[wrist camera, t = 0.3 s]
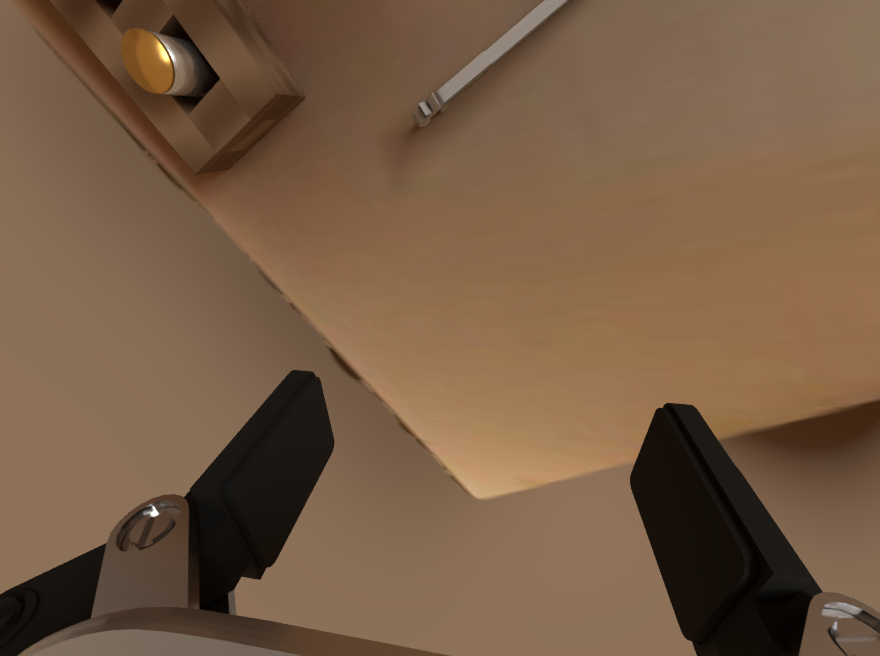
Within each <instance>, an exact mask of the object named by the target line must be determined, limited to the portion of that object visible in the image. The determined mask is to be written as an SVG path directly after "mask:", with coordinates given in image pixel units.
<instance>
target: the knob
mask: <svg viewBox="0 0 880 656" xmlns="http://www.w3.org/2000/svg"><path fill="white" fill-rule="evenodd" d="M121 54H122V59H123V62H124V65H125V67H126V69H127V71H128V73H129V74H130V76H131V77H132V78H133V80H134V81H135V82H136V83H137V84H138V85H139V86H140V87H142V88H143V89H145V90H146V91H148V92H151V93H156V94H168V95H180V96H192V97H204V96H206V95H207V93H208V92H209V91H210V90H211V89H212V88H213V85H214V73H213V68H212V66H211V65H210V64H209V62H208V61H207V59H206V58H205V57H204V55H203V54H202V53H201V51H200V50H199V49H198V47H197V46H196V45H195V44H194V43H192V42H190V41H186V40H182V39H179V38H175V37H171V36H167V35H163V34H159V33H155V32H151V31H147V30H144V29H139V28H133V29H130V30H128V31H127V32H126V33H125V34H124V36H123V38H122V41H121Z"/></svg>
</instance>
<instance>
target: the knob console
mask: <svg viewBox="0 0 880 656" xmlns="http://www.w3.org/2000/svg"><path fill="white" fill-rule="evenodd" d="M50 2H51V3H52V4H53V5H54V6H55V8H56V9H57V10H58V11H59V12H60V14H61V15H62V16H63V17H64V18H65V19H66V21H67V22H68V23H69V24H70V25H71V27H72V28H73V29H74V30H75V31H76V33H77V34H78V35H79V36H80V37H81V39H82V40H83V41H84V42H85V43H86V45H87V46H88V47H89V48H90V49H91V50H92V52H93V53H94V54H95V55H96V56H97V58H98V59H99V60H100V61H101V62H102V64H103V65H104V66H105V67H106V68H107V70H108V71H109V72H110V73H111V74H112V76H113V77H114V78H115V79H116V80H117V81H118V83H119V84H120V85H121V86H122V87H123V89H124V90H125V91H126V92H127V93H128V95H129V96H130V97H131V98H132V99H133V101H134V102H135V103H136V104H137V105H138V107H139V108H140V109H141V110H142V111H143V112H144V114H145V115H146V116H147V117H148V118H149V120H150V121H151V122H152V123H153V124H154V126H155V127H156V128H157V129H158V130H159V132H160V133H161V134H162V135H163V136H164V138H165V139H166V140H167V141H168V142H169V143H170V145H171V146H172V147H173V148H174V149H175V151H176V152H177V153H178V154H179V155H180V157H181V158H182V159H183V160H184V161H185V163H186V164H187V165H188V166H189V167H190V168H191V170H192V171H193V172H194V173H195V174H200V173H206V172H212V171H218V170H224V169H230V168H231V167H232V166H233V165H234V164H235V163H236V162H237V161H238V160H239V159H240V158H241V157H242V156H244V155H245V154H246V153H247V152H248V151H249V150H250V149H251V148H252V147H253V146H254V145H255V144H256V143H257V142H258V141H259V140H260V139H262V138H263V137H264V136H265V135H266V134H267V133H268V132H269V131H270V130H271V129H272V128H273V127H274V126H275V125H276V124H277V123H279V122H280V121H281V120H282V119H283V118H284V117H285V116H286V115H287V114H288V113H289V112H290V111H291V110H292V109H293V108H294V107H296V106H297V105H298V104H299V103H300V102H301V101H302V100H303V99H304V98H305V96H304V94H303V93H302V91H301V89H300V88H299V86H298V85H297V83H296V82H295V80H294V79H293V77H292V76H291V74H290V73H289V71H288V70H287V68H286V67H285V65H284V64H283V62H282V61H281V59H280V58H279V56H278V55H277V53H276V52H275V50H274V49H273V47H272V46H271V44H270V43H269V41H268V40H267V38H266V37H265V35H264V34H263V32H262V31H261V29H260V28H259V26H258V25H257V23H256V22H255V20H254V19H253V17H252V16H251V14H250V13H249V11H248V10H247V8H246V7H245V5H244V4H243V2H242V1H241V0H50ZM133 28H139V29H144V30H147V31H151V32H155V33H159V34H163V35H167V36H171V37H175V38H179V39H182V40H186V41H190V42H192V43H194V44H195V45H196V46H197V47H198V49H199V50H200V51H201V53H202V54H203V55H204V57H205V58H206V59H207V61H208V62H209V64H210V65H211V66H212V68H213V73H214V85H213V88H212V89H211V90H210V91H209V92H208V93H207V95H206V96H204V97H192V96H180V95H168V94H156V93H151V92H148V91H146V90H145V89H143V88H142V87H140V86H139V85H138V84H137V83H136V82H135V81H134V80H133V78H132V77H131V76H130V74H129V73H128V71H127V69H126V67H125V65H124V62H123V59H122V54H121V41H122V38H123V36H124V34H125V33H126V32H127V31H128V30H130V29H133Z"/></svg>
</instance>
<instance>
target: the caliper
mask: <svg viewBox="0 0 880 656" xmlns="http://www.w3.org/2000/svg"><path fill="white" fill-rule="evenodd" d="M569 1H570V0H544V1H543V2H542V3H541V4H539V5H538V6H537V7H536V8H535V9H534V10H532V11H531V12H530V13H529V14H528V15H527V16H525V17H524V18H523V19H522V20H521V21H520V22H518V23H517V24H516V25H515V26H514V27H513V28H511V29H510V30H509V31H508V32H507V33H506V34H504V35H503V36H502V37H501V38H500V39H499V40H497V41H496V42H495V43H494V44H493V45H492V46H490V47H489V48H488V49H487V50H486V51H485V52H484V51H483V52H482V53H481V54H480V55H479V56H477V57H476V58H475V59H474V60H473V61H472V62H470V63H469V64H468V65H467V66H466V67H465V68H463V69H462V70H461V71H460V72H459V73H458V74H456V75H455V76H454V77H453V78H452V79H451V80H449V81H448V82H447V83H446V84H445V85H443V86H442V87H441V88H440V89H439V90H438V91H437V92H436V94H433V93H431V94H430V95H429V97H428V98H427V100H426V102H425V101H424V102H421V103H419V107H418V108H417V109H416V110H415V111H414V112H413V117H414V119H415V120H416V122H417V123H418V125H419V126H420V127H426V126H428V125H429V124H430V122H431V117H432V116H433V115H434V114H436V113H437V112H438V111H440V112H441V114H442V113H443V112H444V111H445V110H446V109H447V108H448V106H449V105H450V104H451V102H452V101H453V100H454V98H456V97H457V96H458V95H459V94H460V93H462V92H463V91H464V90H466V89H467V88H468V87H470V86H471V85H472V84H473V83H474V82H475V81H477V80H478V79H479V78H480V77H482V76H483V75H484V74H485V73H486V72H487V70H488V69H489V68H491V67H492V66H493V65H494V64H495V63H497V62H498V61H499V60H500V59H501V58H502V57H504V56H505V55H506V54H507V53H508V52H510V51H511V50H512V49H513V48H514V47H516V46H517V45H518V44H519V43H520V42H521V41H523V40H524V39H525V38H526V37H527V36H529V35H530V34H531V33H532V32H533V31H535V30H536V29H537V28H538V27H539V26H541V25H542V24H543V23H544V22H545V21H546V20H548V19H549V18H550V17H551V16H552V15H554V14H555V13H556V12H557V11H558V10H560V9H561V8H562V7H563V6H564V5H566V4H567V3H568V2H569Z"/></svg>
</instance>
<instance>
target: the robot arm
mask: <svg viewBox="0 0 880 656" xmlns="http://www.w3.org/2000/svg"><path fill="white" fill-rule="evenodd" d="M333 448H334V437H333V433H332V429H331V424H330V420H329V416H328V412H327V407H326V403H325V398H324V394H323V390H322V385H321V381H320V379H319V377H316V376H315V374H314V373H313V372H310V371H300V370H293V371H291V372H290V373H289V374H288V375H287V376H286V377H285V379H284V380H283V381H282V382H281V383H280V384H279V386H278V387H277V388H276V389H275V390H274V391H273V393H272V394H271V395H270V396H269V397H268V398H267V400H266V401H265V402H264V403H263V404H262V405H261V406H260V408H259V409H258V410H257V411H256V412H255V414H254V415H253V416H252V417H251V418H250V419H249V420H248V422H247V423H246V424H245V425H244V426H243V427H242V429H241V430H240V431H239V432H238V433H237V435H236V436H235V437H234V438H233V439H232V440H231V442H230V443H229V444H228V445H227V446H226V447H225V449H224V450H223V451H222V452H221V453H220V454H219V455H218V457H217V458H216V459H215V460H214V462H213V463H212V464H211V465H210V466H209V467H208V468H207V469H206V471H205V472H204V473H203V474H202V475H201V476H200V478H199V479H198V480H197V481H196V482H195V483H194V485H193V486H192V487H191V488H190V491H189V492H188V493H187V495H186V496H185V497H184V498H183V497H182V496H179V495H175V494H172V495H171V494H170V495H162V496H159V497H156V498H152V499H150V500H148V501H146V502H144V503H142V504H140V505H139V506H137V507H136V508H134V509H133V510H132V511H130V512H129V513H128V514H127V515H125V516H124V517H123V518H122V519H121V520H120V521H119V522H118V524H117V525H116V526H115V527H114V529H113V530H112V532H111V533H110V536H109V538H108V541H107V543H106V544H104V545H101V546H99V547H97V548H95V549H93V550H91V551H89V552H87V553H85V554H83V555H80V556H78V557H76V558H74V559H72V560H70V561H68V562H66V563H64V564H62V565H60V566H57V567H55V568H53V569H51V570H49V571H47V572H45V573H43V574H41V575H39V576H36V577H34V578H32V579H30V580H28V581H26V582H24V583H22V584H20V585H18V586H15V587H13V588H11V589H9V590H7V591H5V592H4V593H2V594H0V656H448V655H443V654H438V653H433V652H427V651H423V650H418V649H413V648H407V647H403V646H397V645H392V644H387V643H382V642H377V641H371V640H366V639H361V638H355V637H351V636H346V635H340V634H335V633H330V632H324V631H319V630H314V629H309V628H304V627H298V626H293V625H288V624H283V623H278V622H272V621H266V620H260V619H254V618H248V617H243V616H237V615H236V607H235V606H236V605H235V594H234V589H235V587H236V585H237V583H238V582H239V580H240V578H241V577H248V578H253V579H259V580H260V579H261V577H262V575H263V573H264V571H265V570H266V568H267V567H271V566H272V565H273V564H274V563H275V561H276V559H277V558H278V556H279V554H280V552H281V550H282V548H283V546H284V544H285V542H286V540H287V538H288V536H289V535H290V533H291V531H292V529H293V527H294V525H295V523H296V521H297V519H298V517H299V515H300V513H301V511H302V510H303V508H304V506H305V504H306V502H307V500H308V498H309V496H310V494H311V492H312V490H313V488H314V486H315V485H316V482H317V481H318V479H319V477H320V475H321V473H322V471H323V469H324V467H325V465H326V463H327V461H328V459H329V458H330V456H331V454H332V452H333ZM630 485H631V489H632V492H633V495H634V498H635V501H636V504H637V506H638V510H639V512H640V515H641V518H642V521H643V523H644V526H645V529H646V532H647V535H648V538H649V541H650V544H651V547H652V549H653V552H654V555H655V558H656V561H657V564H658V567H659V569H660V572H661V575H662V578H663V581H664V584H665V587H666V589H667V592H668V595H669V598H670V601H671V603H672V606H673V609H674V612H675V615H676V618H677V621H678V623H679V626H680V629H681V631H682V633H683V635H684V637H685V638H686V639H687V640H690V641H692V643H693V646H694V649H695V651H696V654H697V656H880V613H879V612H878V611H876V610H875V609H874V608H872V607H870V606H868V605H866V604H864V603H862V602H860V601H859V600H856V599H855V598H852V597H849V596H846V595H843V594H840V593H833V592H822V590H821V589H820V587H819V586H818V585H817V583H816V582H815V580H814V579H813V577H812V576H811V575H810V573H809V571H808V570H807V568H806V567H805V565H804V564H803V563H802V561H801V560H800V558H799V557H798V555H797V554H796V552H795V551H794V549H793V548H792V546H791V545H790V544H789V542H788V541H787V539H786V538H785V536H784V535H783V533H782V532H781V530H780V529H779V527H778V526H777V524H776V523H775V522H774V520H773V519H772V517H771V516H770V514H769V513H768V511H767V510H766V508H765V507H764V505H763V504H762V502H761V501H760V499H759V498H758V497H757V495H756V494H755V492H754V491H753V489H752V488H751V486H750V485H749V484H748V482H747V480H746V479H745V478H744V476H743V475H742V473H741V472H740V471H739V469H738V468H737V467H736V466H735V465H734V463H733V462H732V460H731V459H730V457H729V456H728V454H727V453H726V451H725V450H724V449H723V447H722V446H721V444H720V443H719V441H718V440H717V438H716V437H715V435H714V434H713V432H712V431H711V429H710V428H709V426H708V425H707V423H706V422H705V420H704V419H703V417H702V416H701V415H700V413H699V412H698V410H697V409H696V408H695V407H694V406H692V405H686V404H674V403H666V404H665V405H664V406H663V408H658V409H657V410H656V411H655V414H654V416H653V419H652V422H651V424H650V427H649V429H648V432H647V434H646V437H645V439H644V442H643V445H642V447H641V450H640V452H639V455H638V457H637V460H636V462H635V465H634V468H633V470H632V473H631V476H630Z"/></svg>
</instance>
